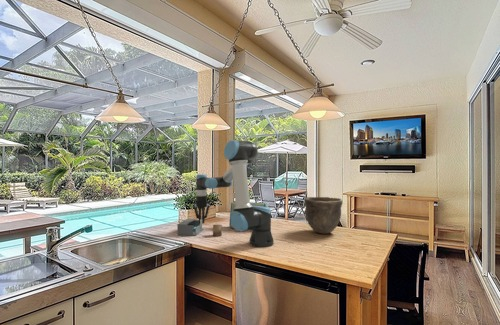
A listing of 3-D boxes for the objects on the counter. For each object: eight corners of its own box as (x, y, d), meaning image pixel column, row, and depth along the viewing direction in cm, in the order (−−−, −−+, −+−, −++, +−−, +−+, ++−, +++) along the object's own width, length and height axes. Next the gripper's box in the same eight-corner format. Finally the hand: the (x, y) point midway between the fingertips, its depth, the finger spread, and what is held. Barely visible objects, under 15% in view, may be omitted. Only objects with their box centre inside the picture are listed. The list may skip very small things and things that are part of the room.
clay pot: (309, 237, 184) (309, 200, 184) (301, 228, 210) (301, 196, 210) (348, 237, 185) (348, 200, 185) (335, 228, 210) (335, 196, 210)
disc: (195, 231, 194) (195, 228, 194) (184, 231, 195) (184, 227, 195) (198, 229, 202) (198, 225, 202) (188, 228, 203) (188, 225, 203)
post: (220, 236, 186) (220, 226, 186) (212, 236, 187) (212, 226, 187) (222, 234, 192) (222, 224, 192) (214, 234, 193) (214, 224, 193)
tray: (196, 234, 189) (196, 228, 189) (179, 234, 191) (179, 227, 191) (203, 228, 206) (203, 222, 206) (188, 228, 208) (188, 222, 208)
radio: (229, 228, 211) (229, 196, 211) (232, 226, 218) (232, 194, 218) (266, 231, 202) (266, 197, 202) (268, 228, 210) (268, 196, 210)
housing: (195, 236, 188) (195, 224, 188) (177, 235, 190) (177, 224, 190) (203, 229, 207) (203, 219, 207) (187, 228, 209) (187, 218, 209)
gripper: (211, 195, 202) (211, 226, 202) (194, 194, 204) (194, 226, 204) (208, 196, 195) (208, 229, 195) (191, 196, 197) (191, 228, 197)
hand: (201, 227), depth 200 cm, fingers closed
